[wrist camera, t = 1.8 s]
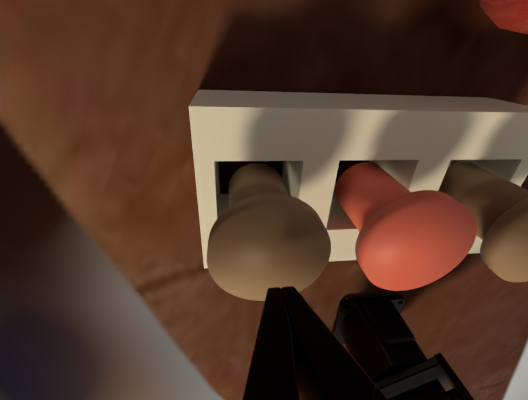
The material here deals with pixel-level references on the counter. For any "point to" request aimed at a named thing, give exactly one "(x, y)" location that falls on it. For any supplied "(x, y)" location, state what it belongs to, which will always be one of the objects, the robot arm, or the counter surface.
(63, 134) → the counter surface
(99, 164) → the counter surface
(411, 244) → the red plunger
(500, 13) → the onion
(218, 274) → the walnut plunger near
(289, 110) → the jig
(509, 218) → the walnut plunger far
